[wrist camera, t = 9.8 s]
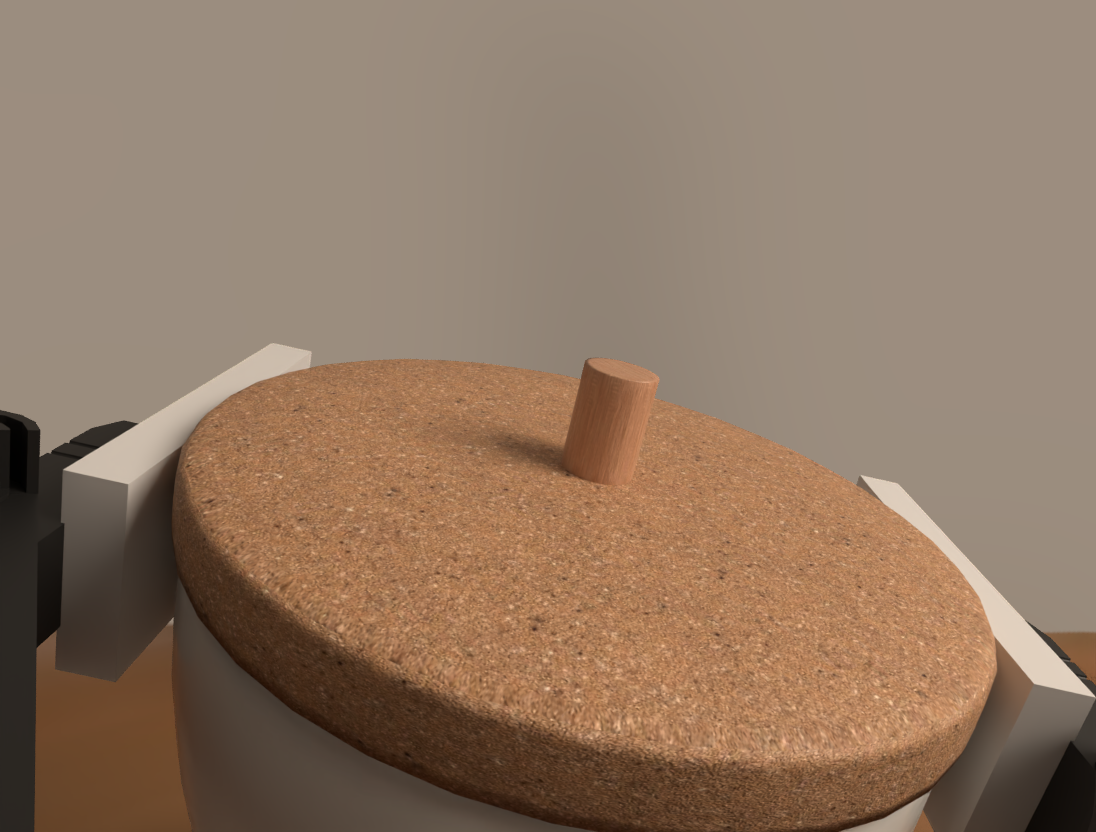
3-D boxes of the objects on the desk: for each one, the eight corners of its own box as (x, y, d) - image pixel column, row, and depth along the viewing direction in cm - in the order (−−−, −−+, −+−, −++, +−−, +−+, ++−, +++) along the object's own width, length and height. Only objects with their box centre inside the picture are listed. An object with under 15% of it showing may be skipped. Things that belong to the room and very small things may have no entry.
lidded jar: (530, 643, 21) (619, 285, 18) (924, 998, 14) (1174, 499, 11) (51, 788, 14) (74, 240, 11) (349, 1676, 7) (639, 757, 4)
